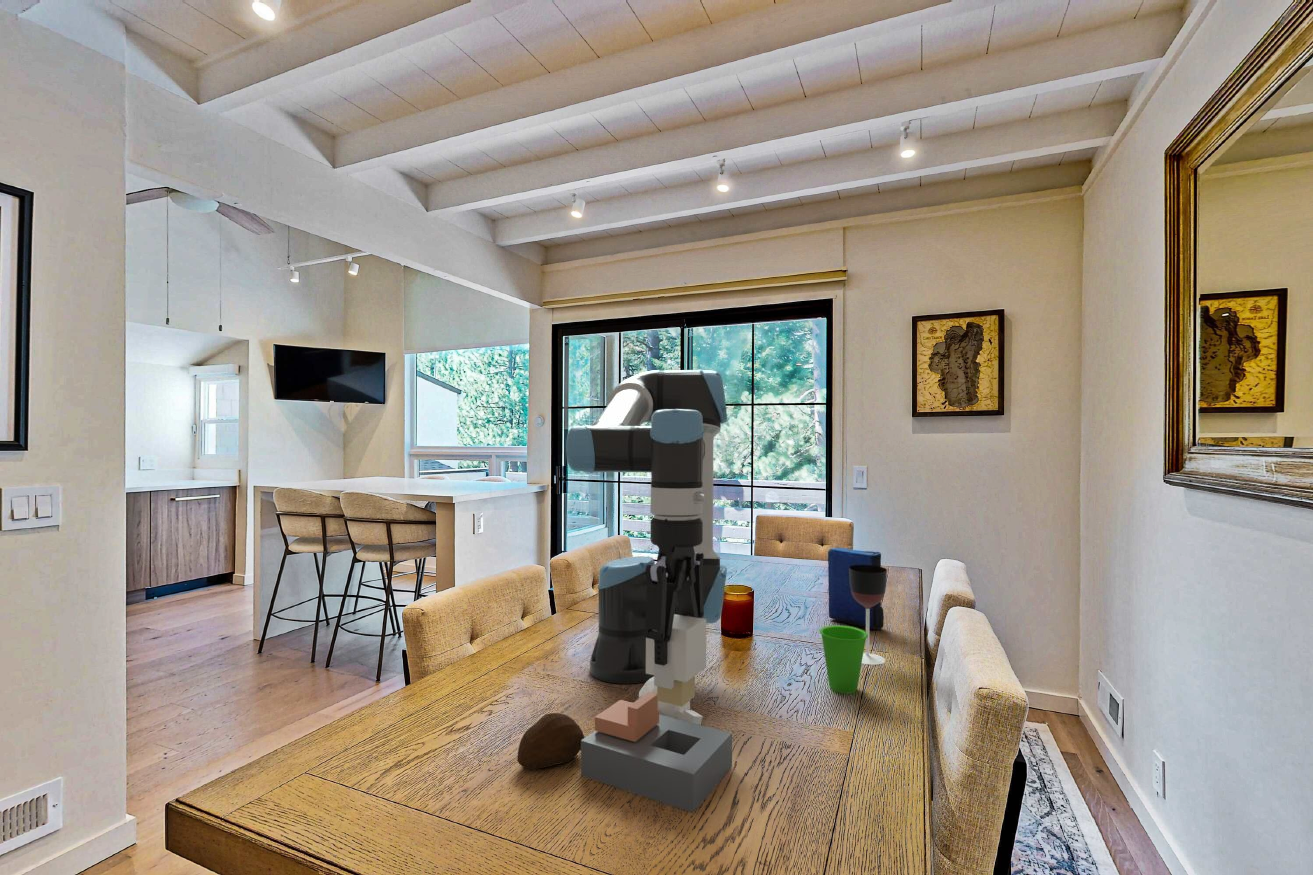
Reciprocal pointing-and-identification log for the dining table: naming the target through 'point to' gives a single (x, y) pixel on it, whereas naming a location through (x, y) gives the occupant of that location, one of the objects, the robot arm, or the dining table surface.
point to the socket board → (661, 762)
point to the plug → (682, 659)
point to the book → (840, 591)
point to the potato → (550, 742)
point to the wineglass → (868, 597)
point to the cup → (843, 656)
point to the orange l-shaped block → (629, 718)
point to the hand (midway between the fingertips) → (675, 677)
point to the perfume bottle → (672, 706)
